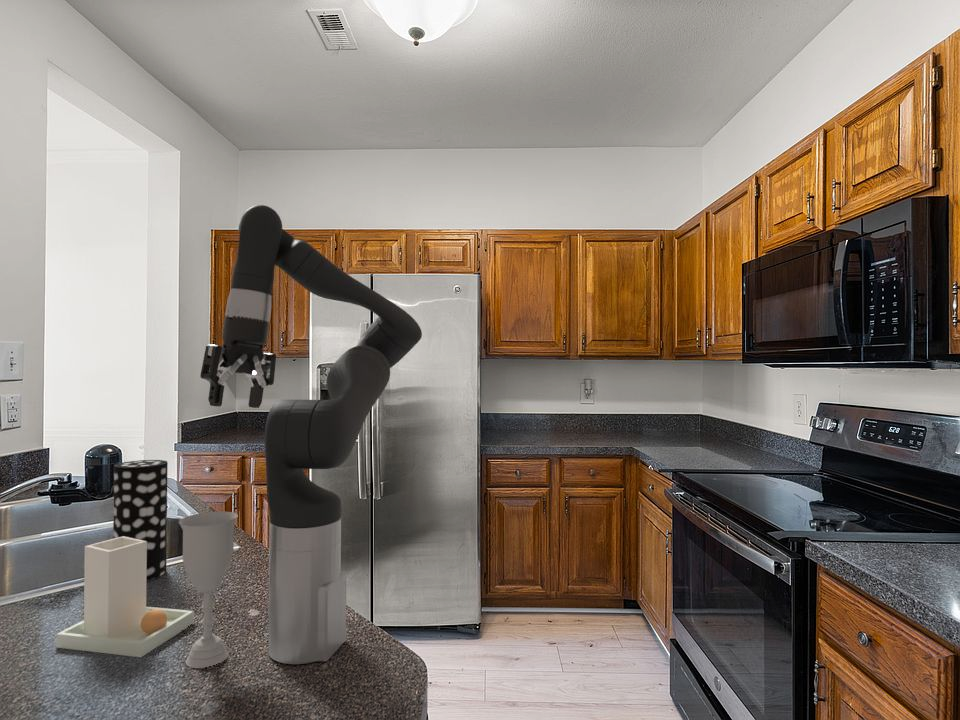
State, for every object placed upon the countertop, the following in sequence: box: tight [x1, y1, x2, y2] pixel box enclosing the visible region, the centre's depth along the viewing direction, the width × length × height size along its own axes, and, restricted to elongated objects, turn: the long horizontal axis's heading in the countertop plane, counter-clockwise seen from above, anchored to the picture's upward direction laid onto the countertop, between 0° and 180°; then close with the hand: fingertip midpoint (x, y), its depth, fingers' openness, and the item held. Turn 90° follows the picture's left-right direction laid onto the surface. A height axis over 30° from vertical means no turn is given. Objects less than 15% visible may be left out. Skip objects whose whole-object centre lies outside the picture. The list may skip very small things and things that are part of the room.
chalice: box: [178, 511, 239, 669], centre depth 76 cm, size 7×7×18 cm
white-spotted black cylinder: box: [112, 459, 169, 582], centre depth 105 cm, size 8×8×20 cm
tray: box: [55, 605, 195, 658], centre depth 82 cm, size 13×10×2 cm
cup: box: [83, 536, 147, 638], centre depth 83 cm, size 5×5×12 cm
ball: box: [141, 609, 167, 635], centre depth 81 cm, size 3×3×3 cm
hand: (235, 406), depth 105 cm, fingers open, 8 cm apart
